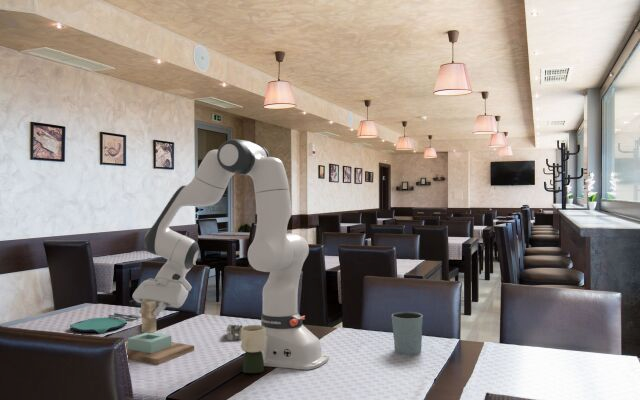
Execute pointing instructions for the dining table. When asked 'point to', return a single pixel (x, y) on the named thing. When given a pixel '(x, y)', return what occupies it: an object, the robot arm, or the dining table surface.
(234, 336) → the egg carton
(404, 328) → the grey green cup
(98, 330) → the teal flat piece
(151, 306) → the beige tall block
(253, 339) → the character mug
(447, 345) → the dining table surface
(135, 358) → the walnut board
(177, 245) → the robot arm
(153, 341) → the end cap
